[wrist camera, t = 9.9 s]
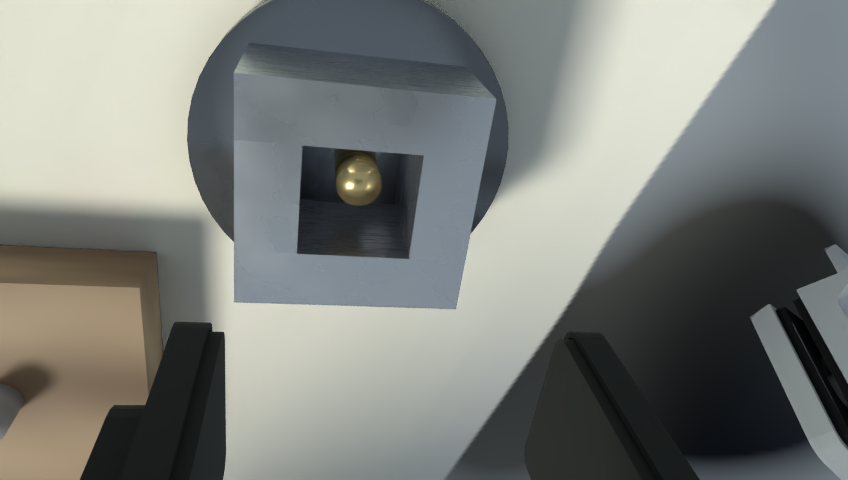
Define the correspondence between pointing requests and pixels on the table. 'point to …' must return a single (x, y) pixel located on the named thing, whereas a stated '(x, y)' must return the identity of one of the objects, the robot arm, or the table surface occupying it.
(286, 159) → the square hollow frame
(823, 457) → the hinge
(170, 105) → the table surface
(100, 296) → the stand
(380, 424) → the table surface
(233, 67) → the hub
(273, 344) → the table surface
